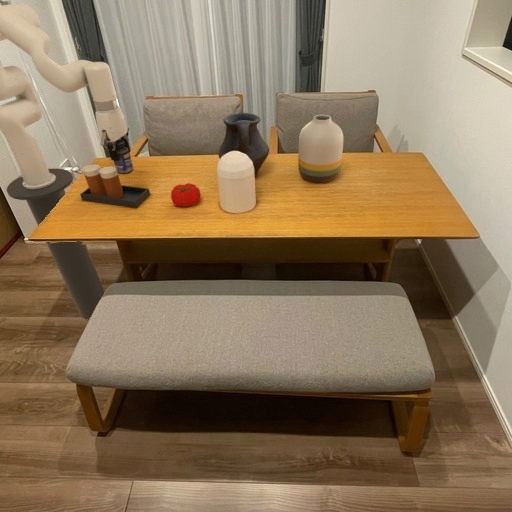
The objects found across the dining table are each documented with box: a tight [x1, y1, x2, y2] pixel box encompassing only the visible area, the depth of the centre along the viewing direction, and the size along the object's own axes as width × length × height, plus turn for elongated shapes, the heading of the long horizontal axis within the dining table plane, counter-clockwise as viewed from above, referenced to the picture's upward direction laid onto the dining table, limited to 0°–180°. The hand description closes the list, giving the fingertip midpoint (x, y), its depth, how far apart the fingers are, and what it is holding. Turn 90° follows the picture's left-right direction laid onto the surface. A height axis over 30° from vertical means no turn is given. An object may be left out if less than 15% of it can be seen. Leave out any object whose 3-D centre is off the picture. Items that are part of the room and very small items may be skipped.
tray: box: [79, 184, 151, 209], centre depth 150 cm, size 24×10×3 cm, turn 73°
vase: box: [297, 114, 344, 183], centre depth 150 cm, size 17×17×24 cm
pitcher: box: [218, 112, 270, 176], centre depth 154 cm, size 21×22×25 cm
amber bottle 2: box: [100, 165, 124, 199], centre depth 147 cm, size 6×6×11 cm
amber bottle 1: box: [82, 163, 107, 196], centre depth 149 cm, size 6×6×11 cm
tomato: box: [170, 182, 202, 207], centre depth 143 cm, size 10×11×6 cm
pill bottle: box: [110, 139, 134, 176], centre depth 138 cm, size 6×6×11 cm
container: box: [216, 151, 257, 214], centre depth 137 cm, size 14×13×20 cm
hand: (121, 155), depth 137 cm, fingers closed on pill bottle, 6 cm apart
